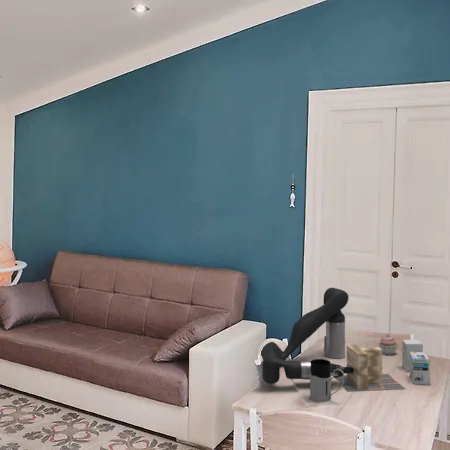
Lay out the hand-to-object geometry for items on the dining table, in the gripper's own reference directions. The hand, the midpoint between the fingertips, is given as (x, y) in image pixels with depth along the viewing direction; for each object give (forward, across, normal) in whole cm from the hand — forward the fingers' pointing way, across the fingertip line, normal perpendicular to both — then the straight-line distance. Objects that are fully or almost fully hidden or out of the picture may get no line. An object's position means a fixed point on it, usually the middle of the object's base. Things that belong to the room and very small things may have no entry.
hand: (352, 370), depth 217 cm
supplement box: (+33, -18, -6) cm, 38 cm away
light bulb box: (+30, -4, -6) cm, 31 cm away
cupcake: (+32, -43, -6) cm, 54 cm away
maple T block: (+6, -1, -5) cm, 8 cm away
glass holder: (-15, +16, -8) cm, 23 cm away
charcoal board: (+7, -1, -6) cm, 10 cm away
